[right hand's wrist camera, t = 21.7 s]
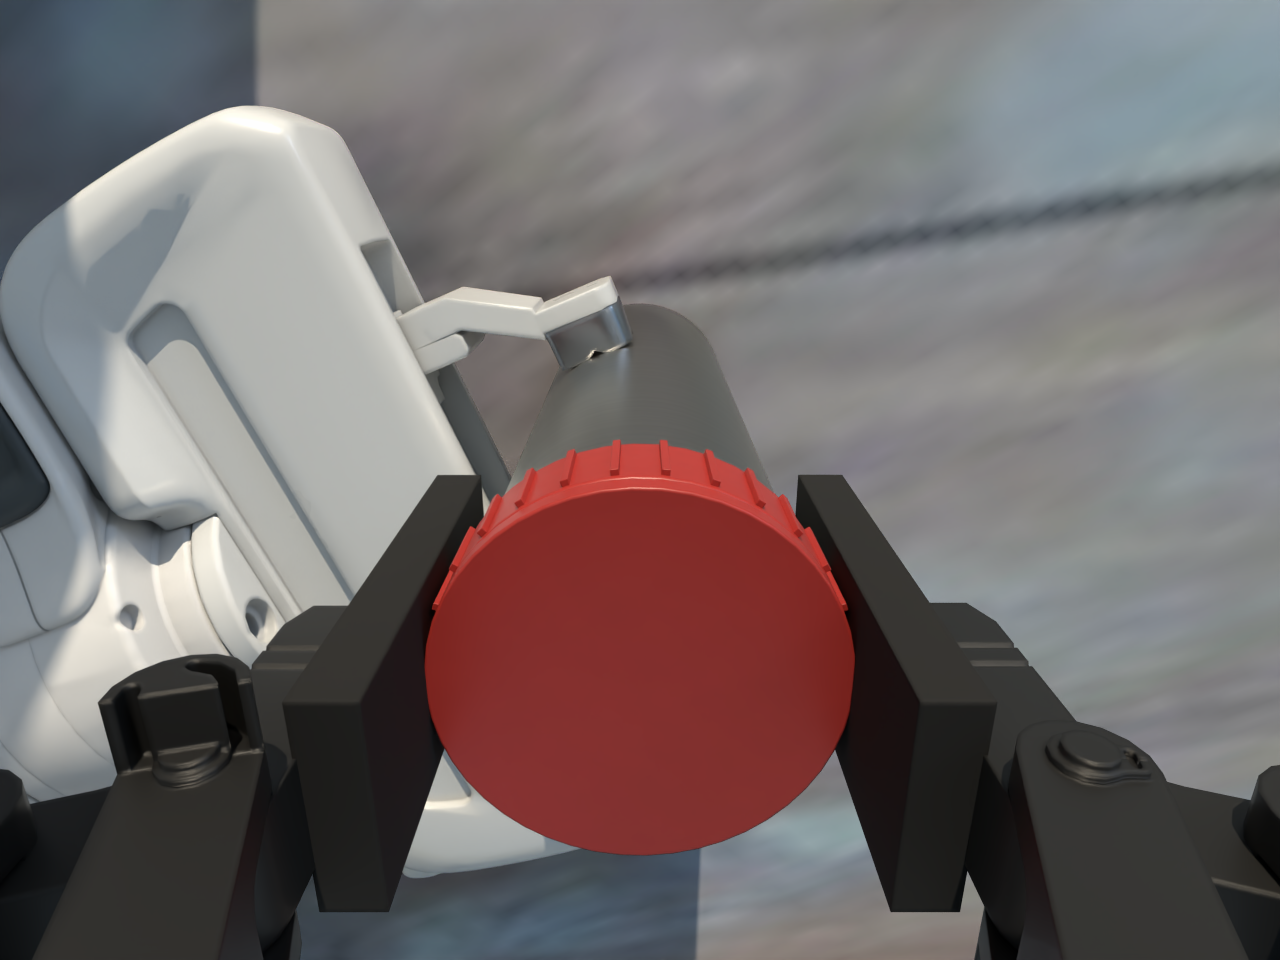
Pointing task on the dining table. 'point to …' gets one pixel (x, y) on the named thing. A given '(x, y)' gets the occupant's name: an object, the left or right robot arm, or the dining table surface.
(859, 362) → the dining table surface
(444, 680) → the lid
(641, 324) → the jar
